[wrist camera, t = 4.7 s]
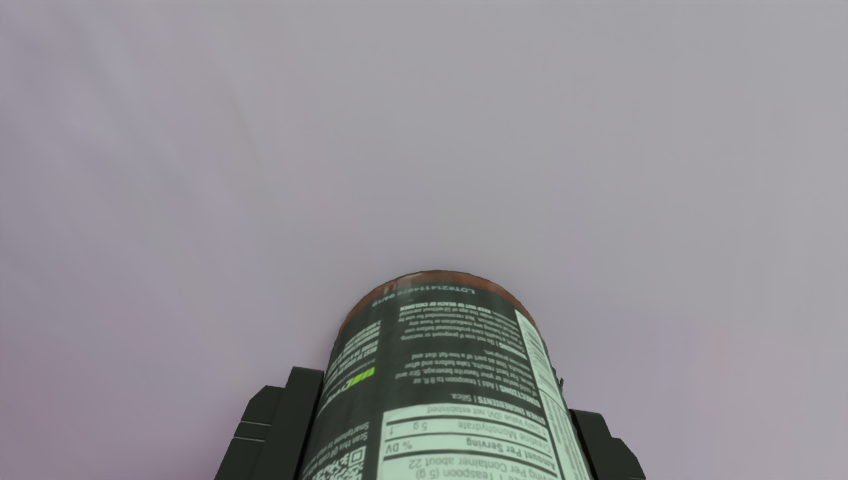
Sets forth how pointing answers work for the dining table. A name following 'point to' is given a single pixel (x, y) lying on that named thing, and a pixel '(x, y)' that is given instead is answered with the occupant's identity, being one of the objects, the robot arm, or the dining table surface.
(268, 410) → the robot arm
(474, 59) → the dining table surface
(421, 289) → the supplement bottle
